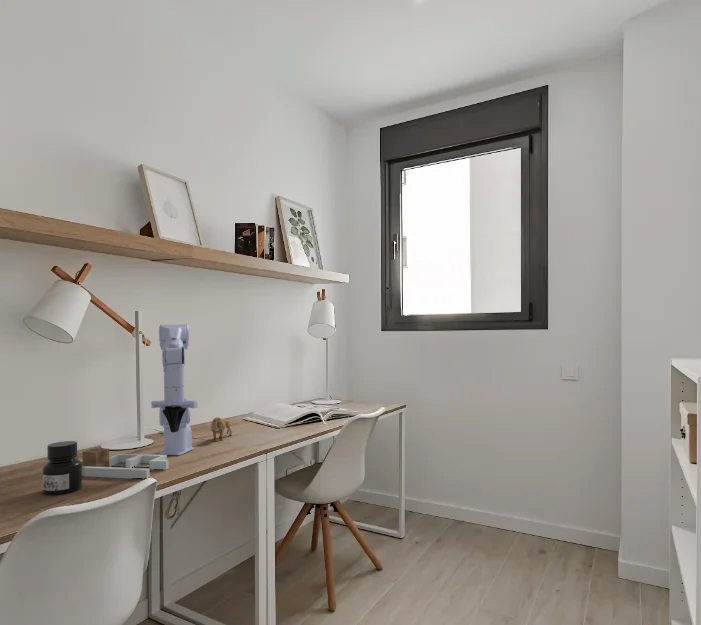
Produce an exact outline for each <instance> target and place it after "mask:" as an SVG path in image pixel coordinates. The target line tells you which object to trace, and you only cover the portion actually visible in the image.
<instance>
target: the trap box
mask: <svg viewBox="0 0 701 625" xmlns="http://www.w3.org/2000/svg"><path fill="white" fill-rule="evenodd" d="M80 461H81V463H82V477H86V478H87V477H89V478H91V477H92V478H112V479H113V478H114V479H132V478H143V479H142V480H145V479H144V478H148V477H150V470H154V469H163V470H162V471H167V470H169V468H170V467H169V465H170V464H169V462H170V461H169V460H168V455H159V454H150V453H149V454H145V453H137V454H136V453H118V454H115V455H112V456H109V467H89V466H83V459H80ZM139 464H140V465H139ZM136 465H137V466H136ZM147 465H149V468H138V467H143V466H144V467H145V466H147ZM112 466H113V467H112ZM114 466H115V467H114ZM117 466H121V467H117ZM123 466H124V467H123ZM134 466H135V467H134ZM132 467H133V468H132ZM150 468H151V469H150ZM148 479H149V478H148Z"/></svg>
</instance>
